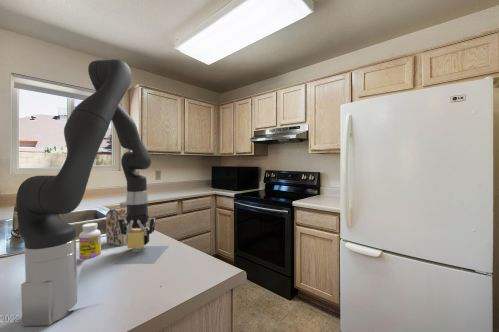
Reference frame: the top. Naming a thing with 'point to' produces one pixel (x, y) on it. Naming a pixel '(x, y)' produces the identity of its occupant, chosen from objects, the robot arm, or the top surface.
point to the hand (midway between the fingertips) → (138, 244)
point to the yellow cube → (135, 238)
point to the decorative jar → (116, 225)
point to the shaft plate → (142, 255)
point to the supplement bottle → (89, 241)
